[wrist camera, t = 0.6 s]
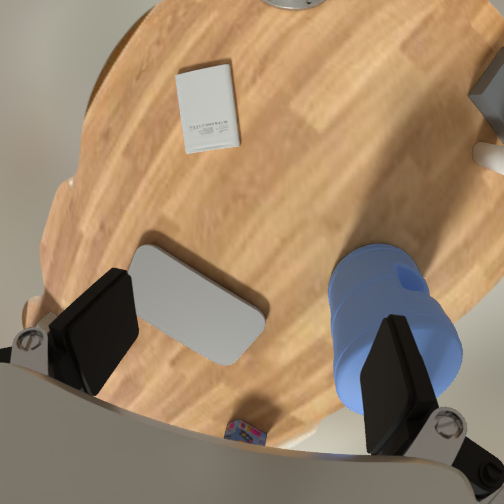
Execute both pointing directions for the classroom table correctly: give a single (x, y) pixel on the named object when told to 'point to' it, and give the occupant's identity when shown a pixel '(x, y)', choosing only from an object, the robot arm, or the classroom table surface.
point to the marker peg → (489, 156)
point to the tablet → (192, 306)
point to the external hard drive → (207, 109)
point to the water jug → (381, 306)
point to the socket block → (491, 94)
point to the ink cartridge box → (244, 433)
